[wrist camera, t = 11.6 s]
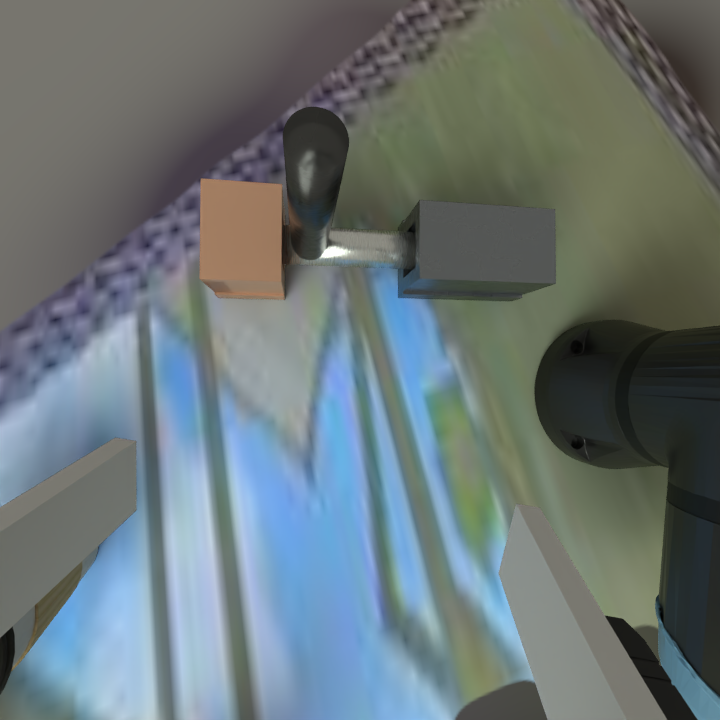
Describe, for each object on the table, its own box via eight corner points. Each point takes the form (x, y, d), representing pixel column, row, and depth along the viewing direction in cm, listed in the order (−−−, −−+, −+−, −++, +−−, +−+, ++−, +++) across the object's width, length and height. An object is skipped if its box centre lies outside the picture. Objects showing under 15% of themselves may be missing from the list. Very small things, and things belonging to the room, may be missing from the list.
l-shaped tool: (456, 240, 38) (592, 129, 20) (456, 277, 38) (592, 197, 20) (239, 229, 35) (178, 87, 17) (239, 268, 35) (177, 167, 17)
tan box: (285, 216, 38) (281, 181, 31) (284, 299, 37) (281, 284, 31) (219, 212, 37) (200, 175, 30) (218, 297, 37) (199, 281, 30)
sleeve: (510, 233, 41) (555, 205, 34) (511, 301, 41) (555, 287, 34) (398, 227, 39) (419, 196, 32) (398, 297, 39) (419, 282, 32)
